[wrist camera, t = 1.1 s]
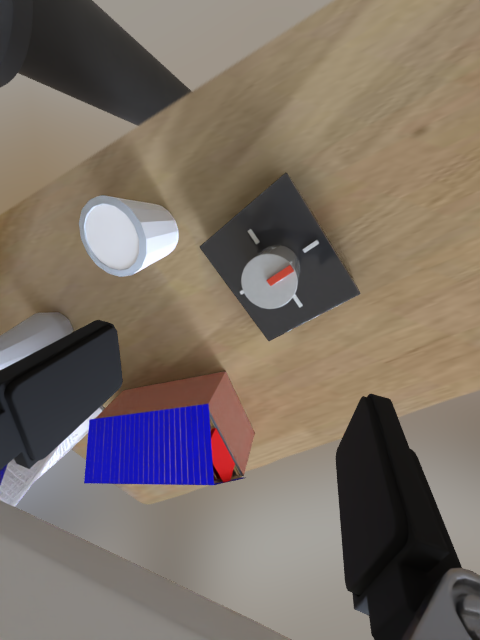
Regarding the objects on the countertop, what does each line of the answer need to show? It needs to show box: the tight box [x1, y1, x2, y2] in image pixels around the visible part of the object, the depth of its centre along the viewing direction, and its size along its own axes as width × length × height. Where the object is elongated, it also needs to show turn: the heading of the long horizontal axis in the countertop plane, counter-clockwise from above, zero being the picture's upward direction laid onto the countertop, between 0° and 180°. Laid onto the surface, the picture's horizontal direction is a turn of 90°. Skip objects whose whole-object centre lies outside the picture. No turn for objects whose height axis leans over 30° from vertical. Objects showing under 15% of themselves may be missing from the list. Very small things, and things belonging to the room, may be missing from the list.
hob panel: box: [200, 173, 360, 341], centre depth 24 cm, size 12×10×3 cm
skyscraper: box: [0, 405, 104, 507], centre depth 33 cm, size 8×8×28 cm
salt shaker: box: [0, 312, 73, 370], centre depth 33 cm, size 6×6×13 cm
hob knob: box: [241, 245, 300, 309], centre depth 21 cm, size 4×4×5 cm
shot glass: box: [79, 195, 178, 277], centre depth 25 cm, size 7×7×7 cm
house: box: [84, 371, 255, 485], centre depth 34 cm, size 12×20×12 cm, turn 113°
